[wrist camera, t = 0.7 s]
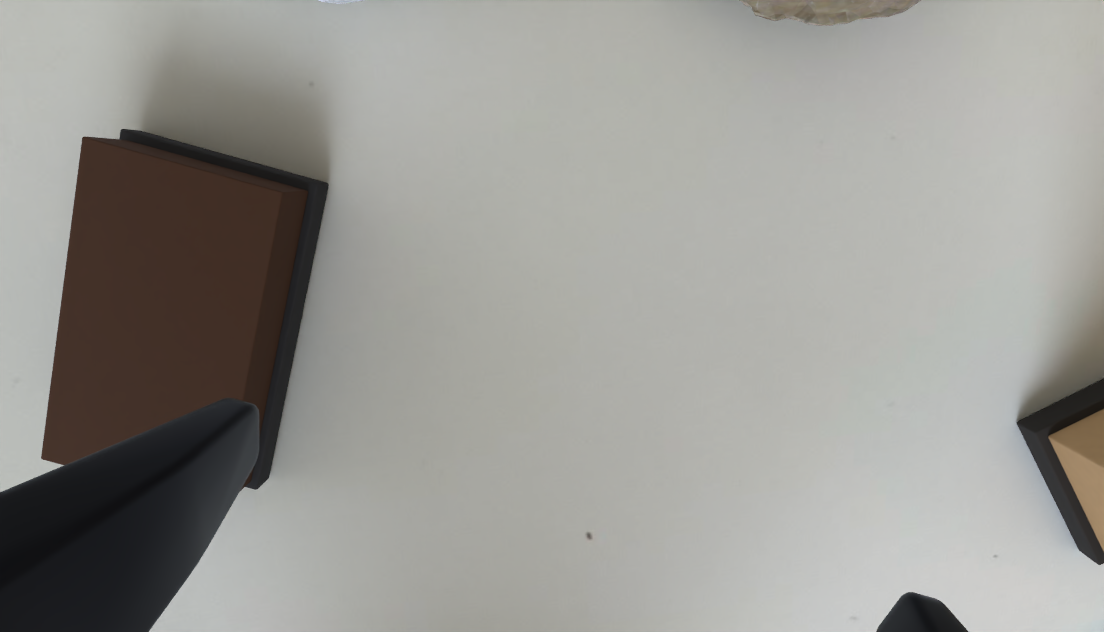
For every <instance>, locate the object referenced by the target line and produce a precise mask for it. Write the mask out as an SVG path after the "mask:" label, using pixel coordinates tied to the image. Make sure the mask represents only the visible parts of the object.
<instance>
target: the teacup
mask: <svg viewBox="0 0 1104 632" xmlns="http://www.w3.org/2000/svg"><path fill="white" fill-rule="evenodd" d="M319 1H322V2H327V3H340V4H341V3H352V2H358V1H363V0H319Z"/></svg>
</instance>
